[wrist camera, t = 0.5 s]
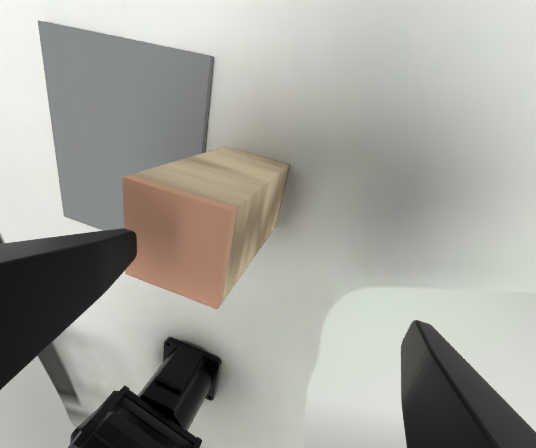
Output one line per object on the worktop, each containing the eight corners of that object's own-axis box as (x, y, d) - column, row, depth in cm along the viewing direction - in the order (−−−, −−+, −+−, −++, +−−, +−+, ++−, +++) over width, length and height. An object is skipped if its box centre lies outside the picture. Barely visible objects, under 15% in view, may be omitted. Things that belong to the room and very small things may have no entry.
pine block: (275, 227, 22) (217, 309, 13) (216, 208, 23) (125, 273, 14) (289, 164, 20) (232, 211, 11) (224, 146, 21) (122, 177, 12)
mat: (194, 259, 25) (191, 262, 25) (68, 214, 28) (63, 216, 27) (214, 57, 18) (210, 55, 18) (44, 22, 21) (37, 20, 21)
